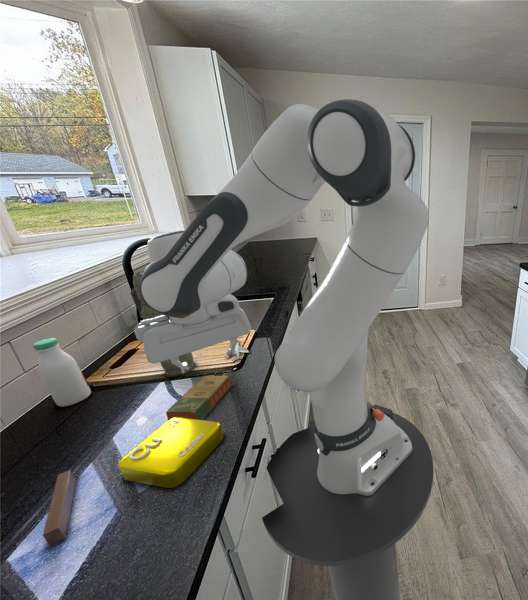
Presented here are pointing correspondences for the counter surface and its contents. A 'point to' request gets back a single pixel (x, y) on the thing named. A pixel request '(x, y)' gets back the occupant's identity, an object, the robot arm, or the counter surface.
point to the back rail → (60, 508)
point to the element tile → (171, 452)
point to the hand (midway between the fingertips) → (209, 363)
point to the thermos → (149, 313)
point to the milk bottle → (60, 373)
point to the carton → (200, 398)
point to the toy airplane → (239, 349)
